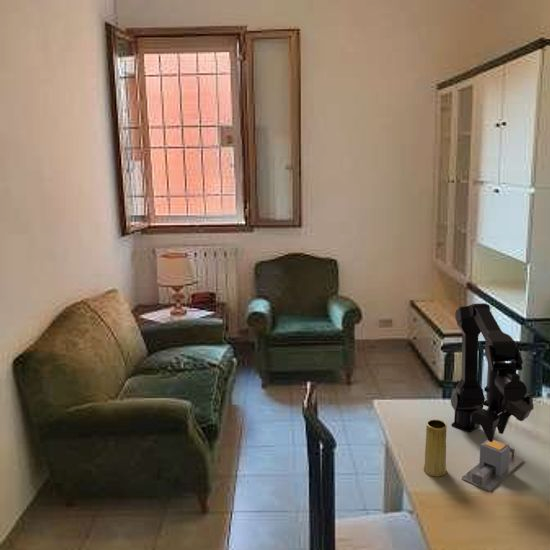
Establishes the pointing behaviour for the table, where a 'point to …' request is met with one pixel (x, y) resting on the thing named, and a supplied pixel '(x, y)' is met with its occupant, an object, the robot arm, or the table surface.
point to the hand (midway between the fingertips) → (495, 437)
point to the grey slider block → (495, 455)
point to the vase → (435, 448)
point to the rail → (493, 477)
